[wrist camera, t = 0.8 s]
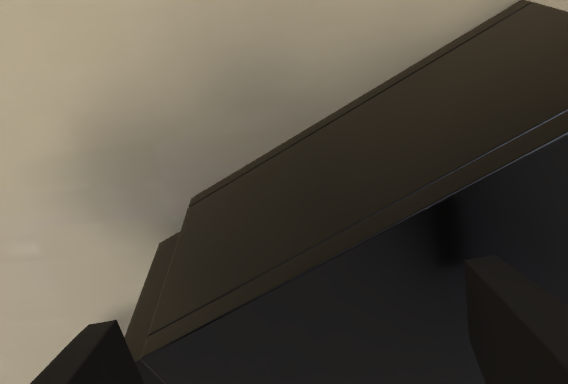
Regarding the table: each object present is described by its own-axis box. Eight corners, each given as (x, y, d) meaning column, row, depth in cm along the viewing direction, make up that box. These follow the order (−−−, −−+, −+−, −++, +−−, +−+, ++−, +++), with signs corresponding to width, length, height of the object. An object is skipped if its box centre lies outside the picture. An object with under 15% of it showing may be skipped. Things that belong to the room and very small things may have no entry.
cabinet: (349, 395, 25) (381, 599, 18) (190, 198, 21) (138, 359, 13) (633, 266, 22) (822, 445, 15) (522, -2, 17) (717, 53, 10)
